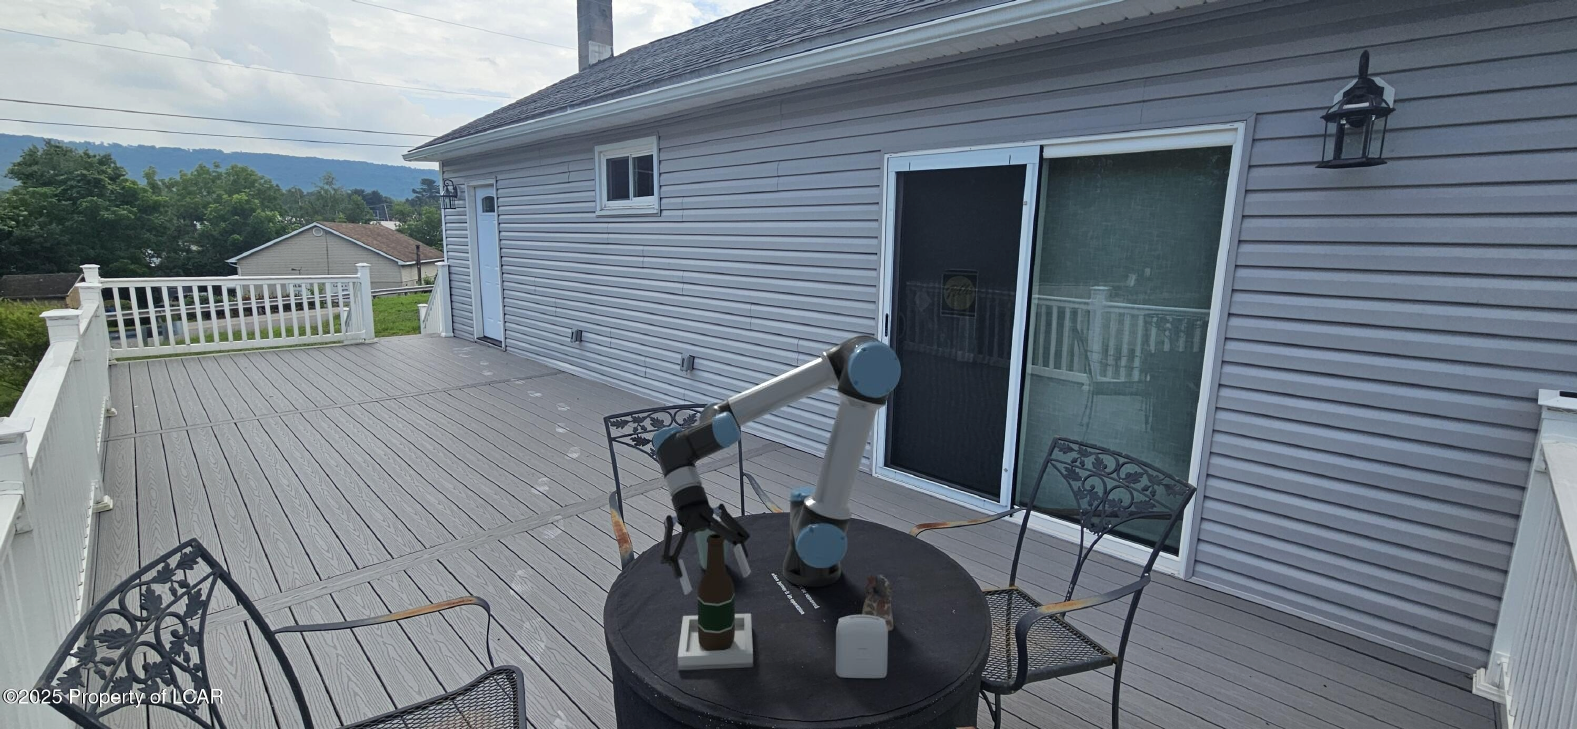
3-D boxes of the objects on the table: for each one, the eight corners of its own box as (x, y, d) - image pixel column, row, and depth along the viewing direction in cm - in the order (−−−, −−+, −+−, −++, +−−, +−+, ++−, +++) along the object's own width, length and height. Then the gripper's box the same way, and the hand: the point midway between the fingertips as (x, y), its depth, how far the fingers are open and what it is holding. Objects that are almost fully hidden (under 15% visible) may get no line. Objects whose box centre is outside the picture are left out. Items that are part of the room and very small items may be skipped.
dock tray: (750, 625, 150) (750, 613, 149) (752, 667, 135) (752, 653, 135) (683, 628, 149) (683, 616, 148) (678, 670, 134) (677, 656, 133)
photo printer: (835, 679, 132) (836, 621, 129) (834, 666, 136) (836, 610, 134) (888, 681, 131) (890, 623, 129) (885, 667, 135) (887, 611, 133)
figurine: (892, 635, 147) (894, 584, 145) (860, 631, 148) (861, 581, 146) (893, 618, 154) (895, 569, 151) (863, 614, 155) (864, 566, 153)
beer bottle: (719, 657, 136) (718, 547, 132) (690, 645, 141) (688, 538, 136) (742, 639, 143) (741, 533, 139) (713, 628, 147) (712, 525, 143)
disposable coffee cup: (740, 563, 180) (740, 510, 177) (715, 579, 171) (714, 524, 168) (709, 553, 185) (708, 501, 183) (683, 568, 176) (682, 514, 174)
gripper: (731, 489, 157) (763, 574, 147) (628, 510, 144) (657, 606, 134) (742, 474, 152) (776, 561, 142) (636, 495, 138) (666, 593, 129)
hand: (718, 583), depth 138 cm, fingers open, 13 cm apart
